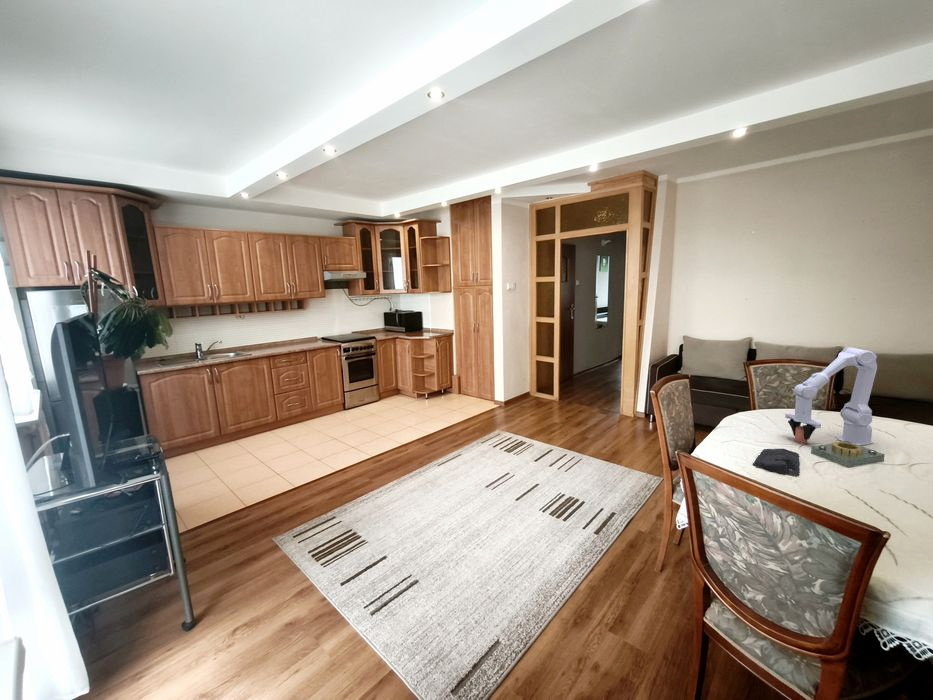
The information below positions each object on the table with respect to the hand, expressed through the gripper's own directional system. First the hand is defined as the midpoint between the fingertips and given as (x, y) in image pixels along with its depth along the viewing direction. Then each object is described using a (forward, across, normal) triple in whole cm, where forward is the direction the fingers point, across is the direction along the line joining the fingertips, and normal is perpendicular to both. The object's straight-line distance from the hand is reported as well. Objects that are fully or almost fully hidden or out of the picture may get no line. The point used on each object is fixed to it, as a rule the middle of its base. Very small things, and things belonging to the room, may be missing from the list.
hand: (801, 437), depth 175 cm
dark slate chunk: (+3, +13, -27) cm, 30 cm away
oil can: (+2, 0, 0) cm, 2 cm away
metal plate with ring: (+2, +17, +2) cm, 17 cm away
